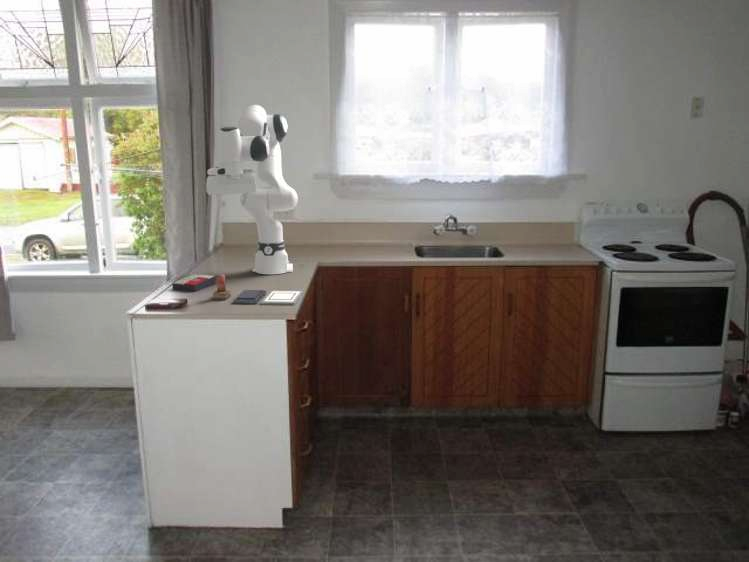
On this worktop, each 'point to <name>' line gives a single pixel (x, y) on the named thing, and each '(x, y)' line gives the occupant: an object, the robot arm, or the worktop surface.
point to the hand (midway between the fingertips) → (233, 205)
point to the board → (281, 298)
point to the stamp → (221, 289)
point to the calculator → (194, 283)
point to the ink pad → (249, 297)
